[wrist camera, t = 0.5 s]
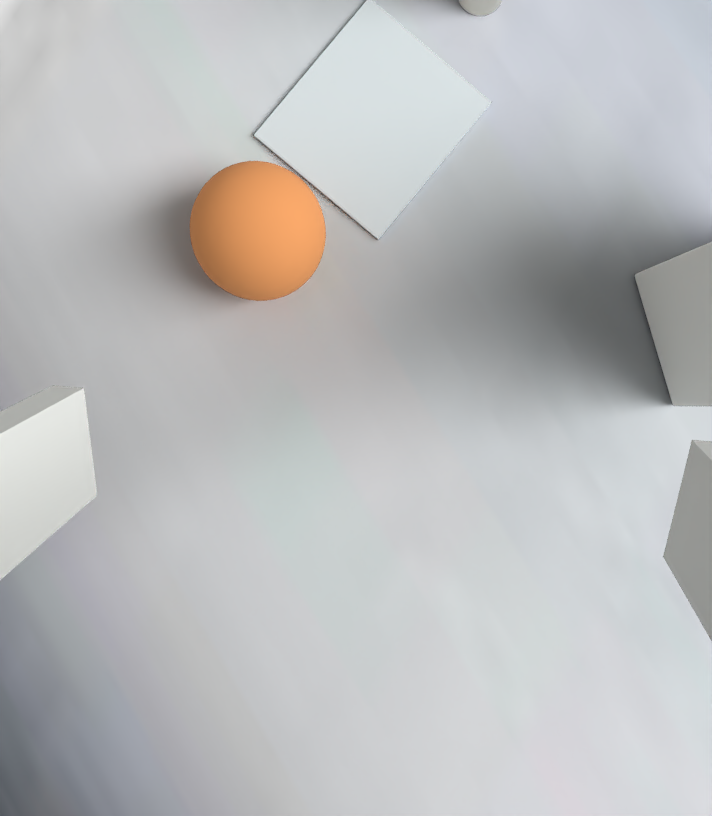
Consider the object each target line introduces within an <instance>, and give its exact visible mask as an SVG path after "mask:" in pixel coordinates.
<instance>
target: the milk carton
mask: <svg viewBox="0 0 712 816" xmlns="http://www.w3.org/2000/svg"><path fill="white" fill-rule="evenodd" d="M635 279H636V282H637V286H638V289H639V293H640V296H641V299H642V303H643V306H644V309H645V313H646V316H647V320H648V323H649V326H650V330H651V333H652V336H653V340H654V343H655V347H656V350H657V353H658V357H659V360H660V363H661V367H662V370H663V374H664V377H665V380H666V384H667V387H668V390H669V394H670V397H671V401H672V404H673V406H712V242H709V243H707V244H705V245H702V246H700V247H697V248H695V249H693V250H690V251H688V252H686V253H683V254H681V255H679V256H676V257H674V258H672V259H669V260H667V261H665V262H662V263H660V264H658V265H655V266H653V267H651V268H648V269H646V270H643V271H641V272H639V273H637V274H635Z"/></svg>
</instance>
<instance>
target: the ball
mask: <svg viewBox="0 0 712 816" xmlns="http://www.w3.org/2000/svg"><path fill="white" fill-rule="evenodd" d="M190 238H191V244H192V247H193V251H194V254H195V256H196V258H197V260H198V262H199V264H200V266H201V267H202V269H203V270H204V272H205V273H206V274H207V276H208V277H209V278H210V279H211V280H212V281H213V282H214V283H215V284H217V285H218V286H219V287H221V288H222V289H223V290H225V291H227V292H229V293H231V294H232V295H235V296H238V297H240V298H244V299H248V300H256V301H264V300H272V299H277V298H280V297H283V296H286V295H288V294H290V293H292V292H294V291H295V290H297V289H298V288H300V287H301V286H302V285H303V284H305V283H306V281H307V280H308V279H309V278H310V277H311V276H312V274H313V273H314V272H315V270H316V268H317V266H318V265H319V263H320V260H321V257H322V254H323V250H324V246H325V238H326V232H325V222H324V217H323V213H322V210H321V207H320V205H319V203H318V200H317V199H316V197H315V195H314V194H313V192H312V191H311V190H310V188H309V187H308V186H307V185H306V183H305V182H303V181H302V180H301V179H300V178H299V177H298V176H297V175H295V174H294V173H292V172H291V171H289V170H287V169H285V168H283V167H281V166H278V165H276V164H272V163H268V162H262V161H247V162H241V163H237V164H234V165H231V166H229V167H226V168H224V169H223V170H221V171H219V172H218V173H217V174H215V175H214V176H213V177H212V178H211V179H210V180H209V181H208V182H207V183H206V184H205V185H204V186H203V188H202V189H201V191H200V192H199V194H198V196H197V198H196V200H195V203H194V205H193V208H192V212H191V217H190Z"/></svg>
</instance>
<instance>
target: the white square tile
mask: <svg viewBox="0 0 712 816" xmlns="http://www.w3.org/2000/svg"><path fill="white" fill-rule="evenodd" d="M491 103H492V102H491V101H490V100H489V99H488V98H486V97H485V96H484V95H483V94H482V93H481V92H479V91H478V90H477V89H476V88H475V87H473V86H472V85H471V84H470V83H469V82H468V81H466V80H465V79H464V78H463V77H462V76H461V75H459V74H458V73H457V72H456V71H455V70H454V69H452V68H451V67H450V66H449V65H448V64H447V63H445V62H444V61H443V60H442V59H441V58H440V57H438V56H437V55H436V54H435V53H434V52H433V51H431V50H430V49H429V48H428V47H427V46H426V45H424V44H423V43H422V42H421V41H420V40H419V39H417V38H416V37H415V36H414V35H413V34H412V33H410V32H409V31H408V30H407V29H406V28H405V27H403V26H402V25H401V24H400V23H399V22H398V21H396V20H395V19H394V18H393V17H392V16H391V15H389V14H388V13H387V12H386V11H385V10H384V9H382V8H381V7H380V6H379V5H378V4H377V3H375V2H374V1H373V0H366V2H365V3H364V4H363V5H362V6H361V8H360V9H359V10H358V11H357V12H356V13H355V15H354V16H353V17H352V18H351V19H350V21H349V22H348V23H347V24H346V25H345V27H344V28H343V29H342V30H341V31H340V33H339V34H338V35H337V36H336V37H335V39H334V40H333V41H332V42H331V43H330V45H329V46H328V47H327V48H326V49H325V50H324V52H323V53H322V54H321V55H320V56H319V58H318V59H317V60H316V61H315V62H314V64H313V65H312V66H311V67H310V68H309V70H308V71H307V72H306V73H305V74H304V76H303V77H302V78H301V79H300V80H299V82H298V83H297V84H296V85H295V86H294V87H293V89H292V90H291V91H290V92H289V93H288V95H287V96H286V97H285V98H284V99H283V101H282V102H281V103H280V104H279V105H278V107H277V108H276V109H275V110H274V111H273V113H272V114H271V115H270V116H269V117H268V119H267V120H266V121H265V122H264V123H263V124H262V126H261V127H260V128H259V129H258V130H257V132H256V133H255V134H254V137H256V138H257V139H258V140H259V141H260V142H262V143H263V144H264V145H265V146H266V147H267V148H269V149H270V150H271V151H272V152H273V153H275V154H276V155H277V156H278V157H279V158H281V159H282V160H283V161H284V162H285V163H287V164H288V165H289V166H290V167H291V168H293V169H294V170H295V171H296V172H297V173H299V174H300V175H301V176H302V177H303V178H305V179H306V180H307V181H308V182H309V183H310V184H312V185H313V186H314V187H315V188H316V189H318V190H319V191H320V192H321V193H322V194H324V195H325V196H326V197H327V198H328V199H330V200H331V201H332V202H333V203H334V204H336V205H337V206H338V207H339V208H340V209H342V210H343V211H344V212H345V213H346V214H348V215H349V216H350V217H351V218H352V219H353V220H355V221H356V222H357V223H358V224H359V225H361V226H362V227H363V228H364V229H365V230H367V231H368V232H369V233H370V234H371V235H373V236H374V237H375V238H376V239H377V240H379V239H380V238H381V236H382V235H383V234H384V233H385V231H386V230H387V229H388V228H389V227H390V225H391V224H392V223H393V222H394V221H395V219H396V218H397V217H398V216H399V215H400V213H401V212H402V211H403V210H404V208H405V207H406V206H407V205H408V204H409V202H410V201H411V200H412V199H413V198H414V196H415V195H416V194H417V193H418V192H419V190H420V189H421V188H422V187H423V185H424V184H425V183H426V182H427V181H428V179H429V178H430V177H431V176H432V175H433V173H434V172H435V171H436V170H437V169H438V167H439V166H440V165H441V164H442V162H443V161H444V160H445V159H446V158H447V156H448V155H449V154H450V153H451V152H452V150H453V149H454V148H455V147H456V146H457V144H458V143H459V142H460V141H461V139H462V138H463V137H464V136H465V135H466V133H467V132H468V131H469V130H470V129H471V127H472V126H473V125H474V124H475V123H476V121H477V120H478V119H479V118H480V117H481V115H482V114H483V113H484V112H485V110H486V109H487V108H488V107H489V106H490V104H491Z"/></svg>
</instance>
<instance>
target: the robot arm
mask: <svg viewBox="0 0 712 816" xmlns="http://www.w3.org/2000/svg"><path fill="white" fill-rule="evenodd" d="M96 496H97V489H96V481H95V473H94V465H93V457H92V449H91V441H90V433H89V425H88V417H87V409H86V401H85V393H84V388H77V387H66V386H54V385H53V386H51V387H49V388H47V389H45V390H43V391H41V392H39V393H37V394H34V395H32V396H30V397H28V398H26V399H24V400H22V401H20V402H18V403H16V404H14V405H12V406H10V407H8V408H6V409H4V410H2V411H0V580H1V579H2V578H3V577H4V576H5V575H7V574H8V573H9V572H10V571H11V570H12V569H13V568H15V567H16V566H17V565H18V564H19V563H20V562H21V561H23V560H24V559H25V558H26V557H27V556H28V555H29V554H31V553H32V552H33V551H34V550H35V549H36V548H37V547H39V546H40V545H41V544H42V543H43V542H44V541H46V540H47V539H48V538H49V537H50V536H51V535H52V534H54V533H55V532H56V531H57V530H58V529H59V528H60V527H62V526H63V525H64V524H65V523H66V522H67V521H68V520H70V519H71V518H72V517H73V516H74V515H75V514H76V513H78V512H79V511H80V510H81V509H82V508H83V507H85V506H86V505H87V504H88V503H89V502H90V501H91V500H93V499H94V498H95V497H96ZM663 557H664V559H665V561H666V562H667V564H668V566H669V568H670V569H671V571H672V573H673V574H674V576H675V578H676V580H677V581H678V583H679V585H680V587H681V588H682V590H683V592H684V594H685V595H686V597H687V599H688V601H689V602H690V604H691V606H692V608H693V609H694V611H695V613H696V615H697V616H698V618H699V620H700V622H701V623H702V625H703V627H704V629H705V630H706V632H707V634H708V636H709V637H710V639H711V641H712V442H711V441H699V440H692V442H691V446H690V450H689V454H688V458H687V462H686V466H685V471H684V475H683V479H682V483H681V487H680V491H679V495H678V499H677V503H676V507H675V511H674V515H673V519H672V523H671V527H670V531H669V535H668V539H667V544H666V548H665V552H664V556H663Z"/></svg>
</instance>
